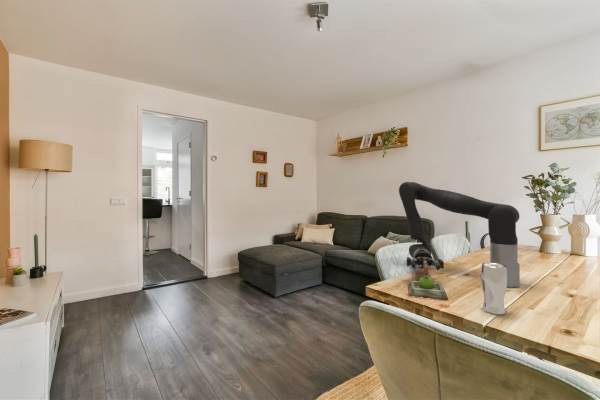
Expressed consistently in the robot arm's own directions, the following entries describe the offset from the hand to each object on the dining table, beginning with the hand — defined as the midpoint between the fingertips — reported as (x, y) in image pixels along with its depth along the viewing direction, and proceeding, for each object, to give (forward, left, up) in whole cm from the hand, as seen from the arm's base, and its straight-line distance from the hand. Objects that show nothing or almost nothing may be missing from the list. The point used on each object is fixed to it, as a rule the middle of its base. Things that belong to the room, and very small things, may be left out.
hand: (425, 266), depth 110 cm
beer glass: (-19, +16, -9) cm, 26 cm away
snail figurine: (0, +5, -8) cm, 9 cm away
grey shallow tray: (0, +5, -9) cm, 10 cm away
